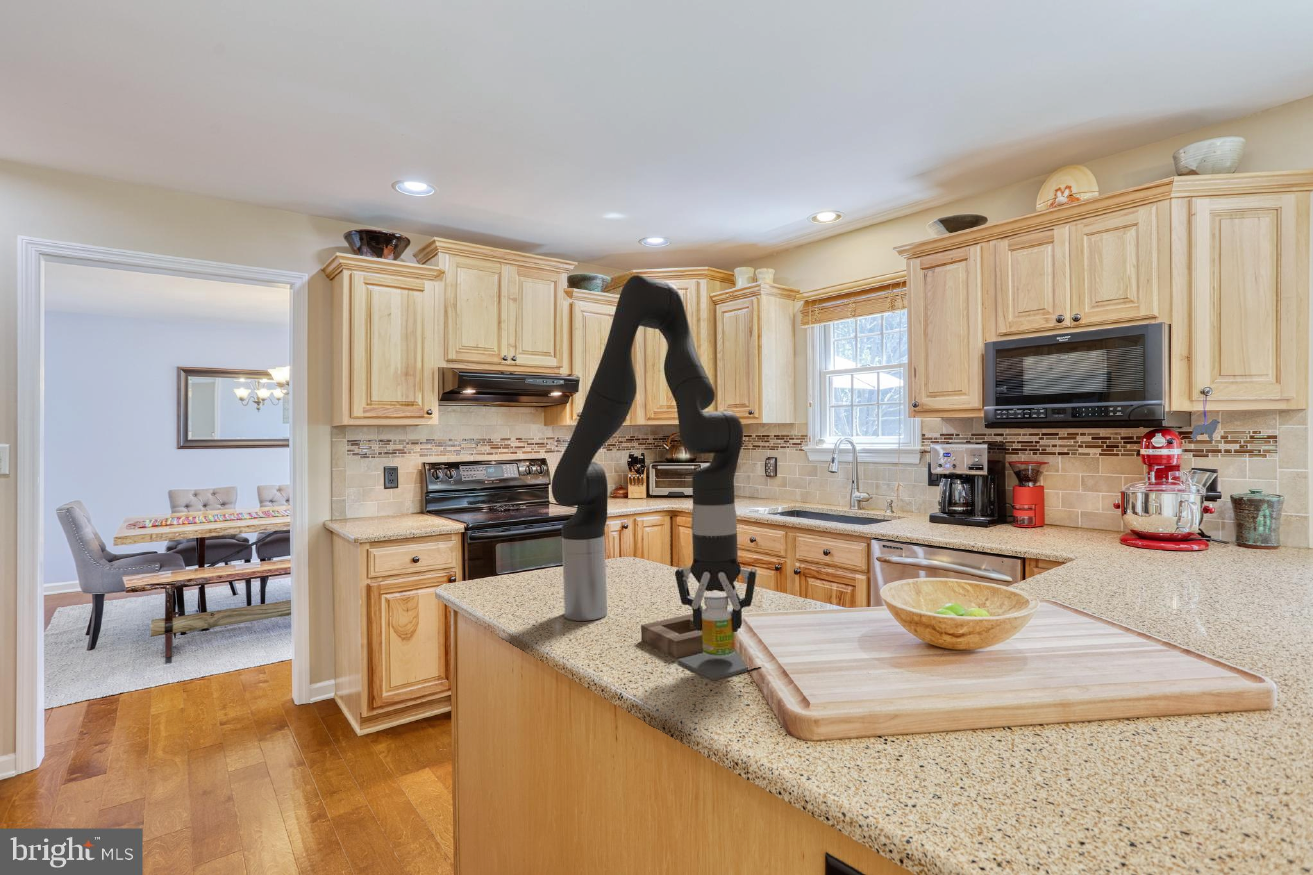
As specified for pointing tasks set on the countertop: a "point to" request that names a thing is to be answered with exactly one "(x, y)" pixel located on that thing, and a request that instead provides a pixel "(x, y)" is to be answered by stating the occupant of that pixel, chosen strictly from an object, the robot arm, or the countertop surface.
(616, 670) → the countertop surface
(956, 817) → the countertop surface
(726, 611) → the supplement bottle
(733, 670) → the mat
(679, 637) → the frame
